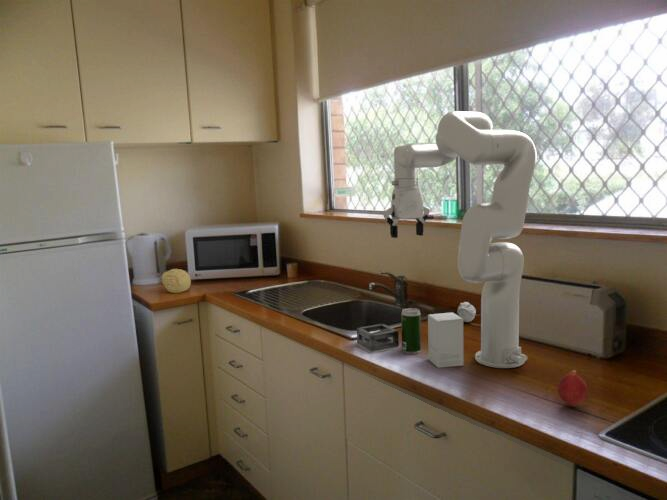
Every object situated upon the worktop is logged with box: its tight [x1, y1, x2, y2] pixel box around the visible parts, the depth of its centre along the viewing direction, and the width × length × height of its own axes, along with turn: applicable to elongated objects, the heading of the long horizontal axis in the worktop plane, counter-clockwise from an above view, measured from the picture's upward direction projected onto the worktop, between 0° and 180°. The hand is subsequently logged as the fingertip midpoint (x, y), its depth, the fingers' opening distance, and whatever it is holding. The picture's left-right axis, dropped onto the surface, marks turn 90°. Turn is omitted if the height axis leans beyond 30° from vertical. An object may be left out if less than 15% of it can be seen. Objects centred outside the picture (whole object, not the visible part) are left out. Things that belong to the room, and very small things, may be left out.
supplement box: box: [427, 311, 465, 369], centre depth 141 cm, size 7×7×13 cm
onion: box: [557, 370, 589, 408], centre depth 112 cm, size 6×6×8 cm
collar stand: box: [355, 323, 401, 354], centre depth 157 cm, size 10×10×5 cm
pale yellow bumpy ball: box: [161, 268, 192, 294], centre depth 244 cm, size 12×12×11 cm
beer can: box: [400, 307, 422, 355], centre depth 150 cm, size 5×5×12 cm
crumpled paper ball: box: [456, 301, 477, 323], centre depth 178 cm, size 6×7×7 cm
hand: (407, 236), depth 175 cm, fingers open, 9 cm apart
